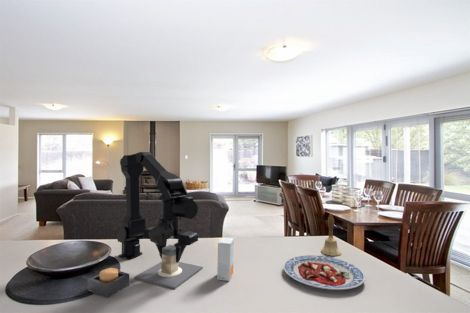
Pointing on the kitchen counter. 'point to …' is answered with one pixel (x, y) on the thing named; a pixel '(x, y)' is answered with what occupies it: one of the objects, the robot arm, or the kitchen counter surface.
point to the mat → (169, 280)
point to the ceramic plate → (324, 272)
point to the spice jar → (169, 260)
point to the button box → (108, 285)
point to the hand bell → (330, 240)
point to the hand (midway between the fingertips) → (170, 260)
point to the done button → (108, 275)
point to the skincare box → (225, 259)
